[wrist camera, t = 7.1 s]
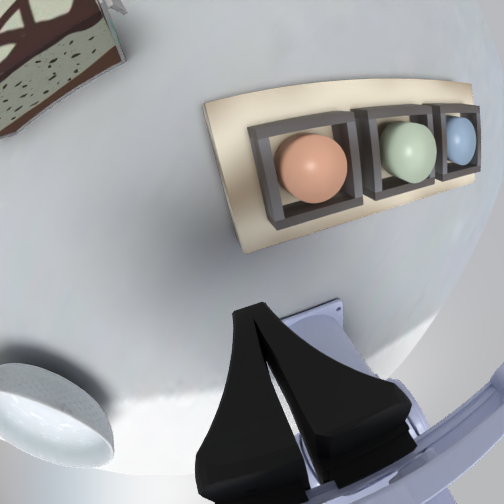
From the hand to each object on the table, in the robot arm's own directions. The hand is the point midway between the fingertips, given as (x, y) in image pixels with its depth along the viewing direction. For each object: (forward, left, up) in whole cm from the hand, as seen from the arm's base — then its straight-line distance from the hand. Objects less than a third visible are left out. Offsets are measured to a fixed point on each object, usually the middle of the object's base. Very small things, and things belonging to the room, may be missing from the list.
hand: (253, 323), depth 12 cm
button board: (+4, -13, -10) cm, 17 cm away
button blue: (+4, -20, -8) cm, 22 cm away
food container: (+16, +8, -11) cm, 21 cm away
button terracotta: (+4, -6, -8) cm, 10 cm away
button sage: (+4, -13, -7) cm, 15 cm away
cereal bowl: (-12, +25, -11) cm, 30 cm away
